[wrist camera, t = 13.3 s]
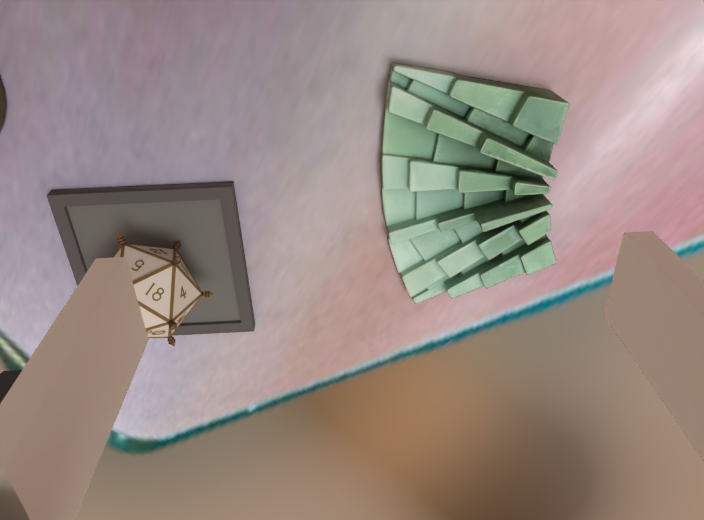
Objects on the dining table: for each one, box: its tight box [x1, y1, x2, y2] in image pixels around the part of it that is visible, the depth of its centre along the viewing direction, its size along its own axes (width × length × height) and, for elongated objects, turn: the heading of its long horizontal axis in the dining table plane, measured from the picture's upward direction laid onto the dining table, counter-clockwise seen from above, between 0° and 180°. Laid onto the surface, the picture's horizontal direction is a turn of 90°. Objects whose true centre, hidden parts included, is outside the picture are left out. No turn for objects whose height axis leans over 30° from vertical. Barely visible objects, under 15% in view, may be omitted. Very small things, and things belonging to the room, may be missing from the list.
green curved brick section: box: [381, 62, 570, 303], centre depth 43 cm, size 20×16×5 cm
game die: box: [112, 233, 214, 346], centre depth 44 cm, size 9×8×10 cm
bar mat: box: [47, 182, 255, 335], centre depth 48 cm, size 14×14×1 cm
